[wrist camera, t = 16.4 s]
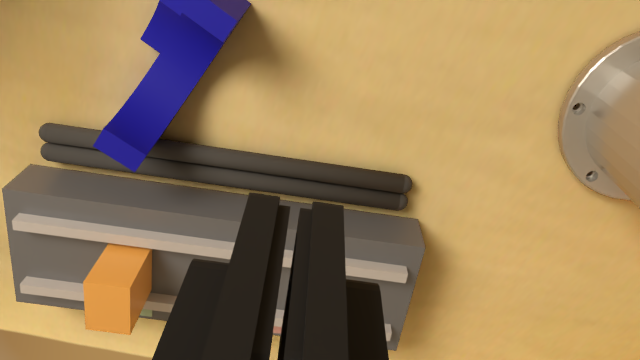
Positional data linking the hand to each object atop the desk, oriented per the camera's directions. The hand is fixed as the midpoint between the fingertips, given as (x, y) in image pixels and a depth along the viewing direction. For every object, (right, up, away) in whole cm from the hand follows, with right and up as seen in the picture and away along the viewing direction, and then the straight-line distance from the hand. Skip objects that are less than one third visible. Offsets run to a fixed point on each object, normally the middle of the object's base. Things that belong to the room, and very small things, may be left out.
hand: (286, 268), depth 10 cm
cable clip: (-9, +10, +28) cm, 31 cm away
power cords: (-6, +3, +31) cm, 32 cm away
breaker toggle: (-13, -5, +31) cm, 34 cm away
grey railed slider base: (-7, -4, +35) cm, 36 cm away
